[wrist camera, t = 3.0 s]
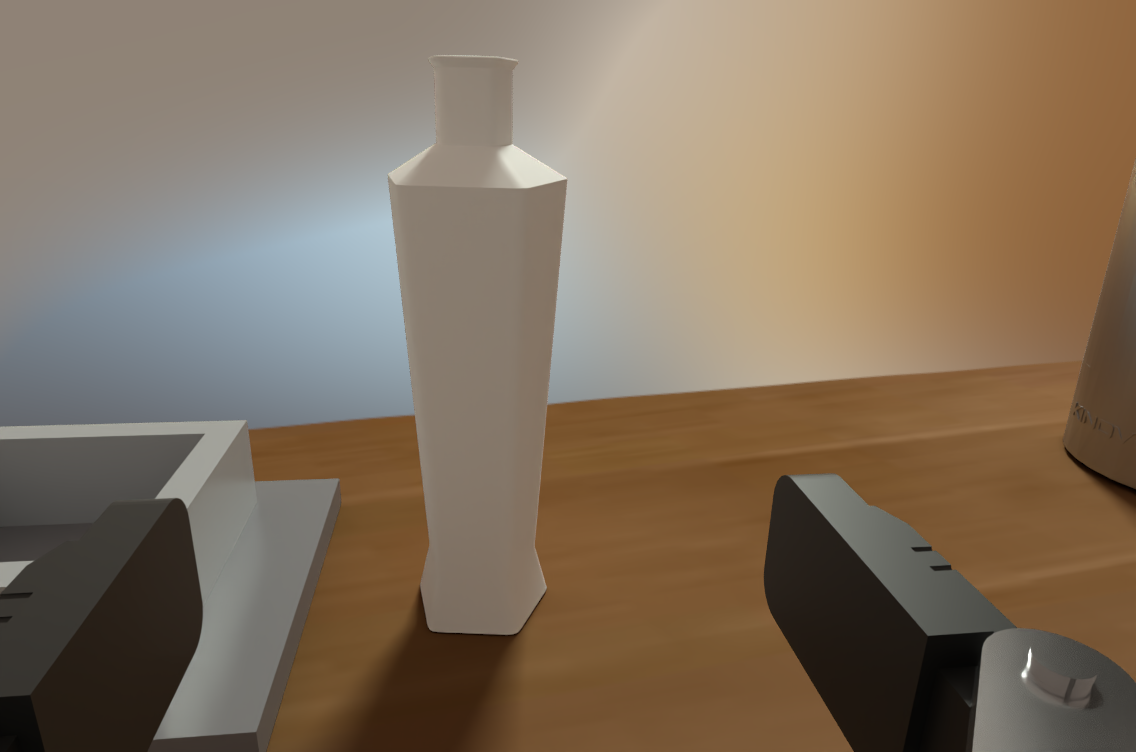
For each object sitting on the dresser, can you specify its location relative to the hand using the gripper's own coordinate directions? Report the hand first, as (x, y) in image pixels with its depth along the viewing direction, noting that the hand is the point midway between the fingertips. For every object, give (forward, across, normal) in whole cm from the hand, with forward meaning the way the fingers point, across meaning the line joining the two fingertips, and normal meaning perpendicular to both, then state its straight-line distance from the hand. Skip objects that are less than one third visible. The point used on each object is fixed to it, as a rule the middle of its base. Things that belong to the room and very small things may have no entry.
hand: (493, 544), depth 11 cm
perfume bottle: (+11, 0, +8) cm, 14 cm away
